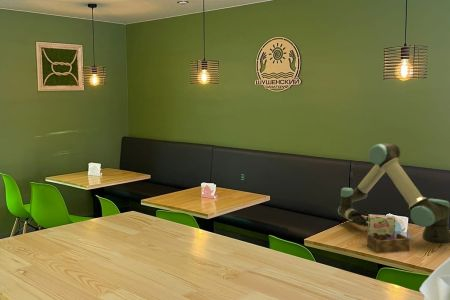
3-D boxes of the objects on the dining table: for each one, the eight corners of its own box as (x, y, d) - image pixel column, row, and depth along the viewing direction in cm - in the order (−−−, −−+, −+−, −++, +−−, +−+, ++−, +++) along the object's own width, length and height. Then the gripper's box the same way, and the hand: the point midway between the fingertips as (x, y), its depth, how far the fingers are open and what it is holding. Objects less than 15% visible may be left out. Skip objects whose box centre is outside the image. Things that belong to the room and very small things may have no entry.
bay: (398, 243, 254) (399, 233, 253) (409, 249, 244) (409, 239, 243) (367, 246, 251) (367, 235, 250) (376, 252, 241) (377, 241, 240)
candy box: (367, 245, 251) (368, 216, 250) (367, 242, 257) (368, 213, 255) (394, 247, 248) (395, 218, 246) (392, 244, 254) (394, 215, 252)
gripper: (362, 221, 287) (383, 232, 264) (343, 222, 284) (362, 233, 261) (363, 209, 286) (383, 219, 263) (343, 210, 283) (362, 221, 260)
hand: (372, 226), depth 262 cm, fingers closed
